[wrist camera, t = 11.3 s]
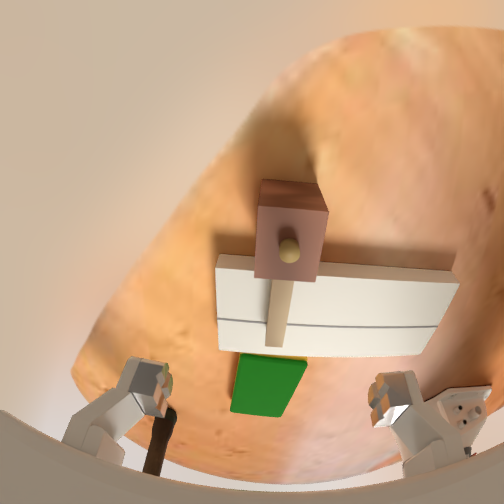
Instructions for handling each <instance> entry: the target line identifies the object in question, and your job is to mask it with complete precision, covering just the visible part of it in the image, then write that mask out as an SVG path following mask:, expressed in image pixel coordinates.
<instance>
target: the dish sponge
mask: <svg viewBox="0 0 504 504" xmlns="http://www.w3.org/2000/svg"><path fill="white" fill-rule="evenodd" d="M306 367H307V356H286V355H270V354H257V353H245V352H240V355H239V361H238V366H237V372H236V377H235V383H234V388H233V394H232V400H231V406H230V411H231V412H234V413H242V414H249V415H258V416H268V417H281V416H282V414H283V412H284V410H285V408H286V406H287V405H288V403H289V401H290V399H291V397H292V395H293V393H294V391H295V389H296V387H297V385H298V383H299V381H300V380H301V378H302V376H303V373H304V371H305V369H306Z"/></svg>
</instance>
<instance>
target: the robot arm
mask: <svg viewBox="0 0 504 504" xmlns="http://www.w3.org/2000/svg"><path fill="white" fill-rule="evenodd" d="M168 370H169V366H168V363H165V362H159V361H154V360H148V359H144V358H139V357H134V356H131V357H130V358H129V359H128V361H127V363H126V365H125V368H124V370H123V372H122V374H121V377H120V379H119V382H118V384H117V386H116V388H111V389H110V390H109V391H107V392H106V393H104V394H103V395H102V396H100V397H99V398H97V399H96V400H94V401H93V402H92V403H90V404H89V405H87V406H86V407H84V408H83V409H81V410H80V411H79V412H77V413H76V414H74V415H73V416H72V418H71V420H70V422H69V425H68V427H67V429H66V432H65V434H64V437H63V439H62V441H61V442H60V441H58V440H56V439H54V438H52V437H50V436H48V435H46V434H44V433H42V432H40V431H38V430H36V429H35V428H33V427H31V426H29V425H28V424H26V423H24V422H23V421H21V420H19V419H17V418H16V417H14V416H13V415H11V414H10V413H8V412H6V411H4V410H0V504H504V442H503V443H501V444H499V445H497V446H495V447H493V448H490V449H488V450H486V451H484V452H481V453H479V454H477V455H476V453H475V454H473V455H471V445H472V444H473V442H474V440H475V439H476V437H477V435H478V433H479V432H480V430H481V428H482V426H483V425H484V423H485V421H486V419H487V410H486V405H485V402H484V401H485V400H486V399H487V397H488V396H489V395H490V393H491V391H492V388H491V386H479V387H466V388H450V389H447V390H445V391H444V392H442V393H440V394H439V395H437V396H436V397H434V398H432V399H430V400H428V401H426V402H424V401H423V398H422V395H421V391H420V388H419V385H418V382H417V379H416V376H415V373H414V372H413V371H411V370H409V371H397V372H387V373H379V374H378V375H377V376H376V378H375V379H376V382H374V383H373V384H371V386H370V388H369V392H368V403H369V406H370V407H371V408H372V409H373V411H372V412H371V420H372V425H373V428H375V427H385V426H389V429H390V431H391V433H392V434H393V436H394V438H395V441H396V443H397V445H398V448H399V451H400V454H401V457H402V461H403V476H404V478H403V479H398V480H394V481H389V482H384V483H379V484H373V485H367V486H361V487H353V488H346V489H336V490H325V491H307V492H264V491H263V492H262V491H247V490H234V489H225V488H216V487H210V486H203V485H196V484H191V483H186V482H181V481H175V480H171V479H166V478H162V477H158V476H154V475H150V474H147V473H143V472H139V471H136V470H133V469H129V468H126V467H123V466H122V463H123V459H124V455H125V451H124V449H122V448H121V447H120V446H119V445H118V444H117V443H116V441H117V440H119V439H120V438H121V437H122V436H123V435H124V434H125V433H126V432H127V431H129V430H130V429H131V428H132V427H133V426H134V425H135V424H136V423H137V422H138V421H139V420H140V419H141V418H142V417H144V414H145V415H150V416H155V417H160V418H164V417H165V413H166V410H167V406H168V404H167V401H166V399H167V398H168V397H169V396H170V395H171V392H172V386H173V379H172V375H171V374H170V373H169V372H168Z"/></svg>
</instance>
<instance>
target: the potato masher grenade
mask: <svg viewBox="0 0 504 504" xmlns="http://www.w3.org/2000/svg"><path fill="white" fill-rule="evenodd" d="M176 421H177V414H176V412H174V411H173V410H171V409H169V408H167V410H166V413H165V417H164V418H160V417H155V420H154V424H153V427H152V438H151V442H150V445H149V449H148V453H147V456H146V460H145V464H144V467H143V473H147V474H150V475H154V476H158V477H160V473H161V468H162V464H163V460H164V456H165V452H166V448H167V444H168V441H169V439H170V437H171V435H172V432H173V428H174V425H175V423H176Z"/></svg>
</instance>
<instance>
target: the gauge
mask: <svg viewBox="0 0 504 504" xmlns="http://www.w3.org/2000/svg"><path fill="white" fill-rule="evenodd" d="M328 214H329V211H328V208H327V206H326V203H325V201H324V198H323V196H322V193H321V191H320V189H319V186H318V184H313V183H303V182H293V181H281V180H268V179H262V183H261V190H260V196H259V203H258V216H257V233H256V250H255V267H254V278H260V279H272V281H271V290H270V299H269V308H268V317H267V326H266V336H265V346H267V347H283V342H284V336H285V331H286V326H287V320H288V315H289V309H290V303H291V297H292V291H293V285H294V281H300V282H315V281H316V277H317V272H318V267H319V262H320V257H321V252H322V247H323V242H324V236H325V231H326V226H327V220H328Z"/></svg>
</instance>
